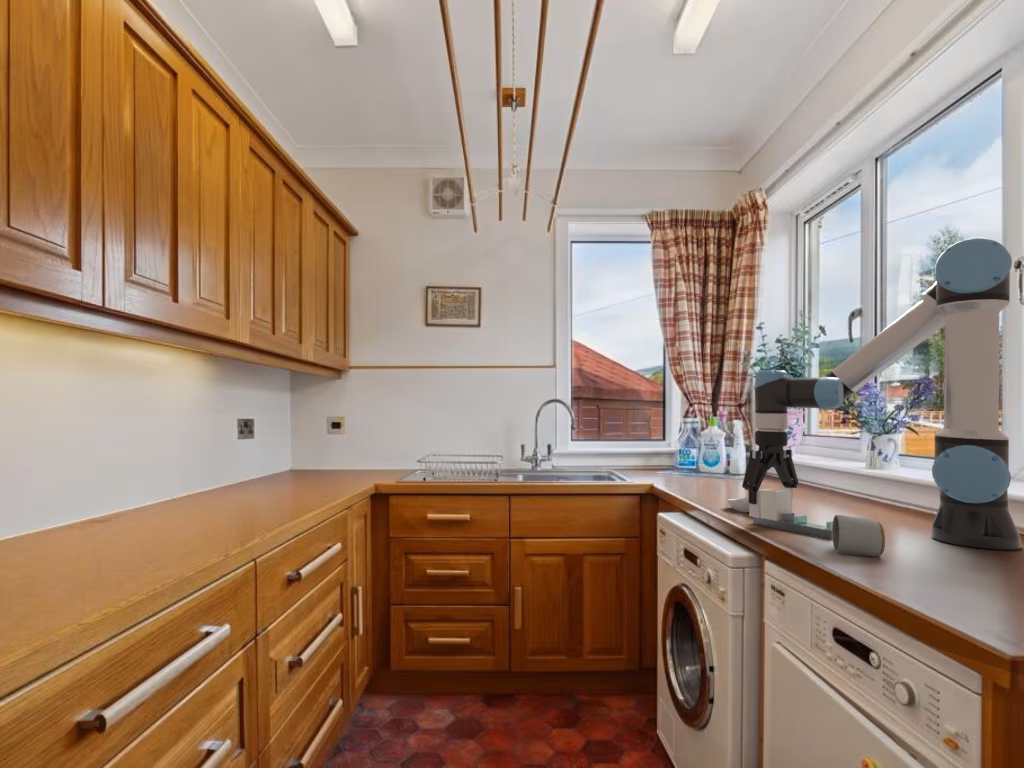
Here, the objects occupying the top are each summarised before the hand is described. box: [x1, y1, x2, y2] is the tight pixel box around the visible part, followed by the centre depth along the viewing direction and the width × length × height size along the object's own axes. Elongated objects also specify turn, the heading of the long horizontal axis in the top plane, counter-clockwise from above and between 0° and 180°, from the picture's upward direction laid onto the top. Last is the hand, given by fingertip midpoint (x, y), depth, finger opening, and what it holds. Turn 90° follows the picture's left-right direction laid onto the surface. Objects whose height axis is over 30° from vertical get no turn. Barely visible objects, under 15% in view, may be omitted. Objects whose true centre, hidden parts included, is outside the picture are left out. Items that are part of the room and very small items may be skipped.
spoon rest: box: [727, 496, 749, 513], centre depth 151 cm, size 24×12×7 cm, turn 5°
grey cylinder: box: [832, 514, 886, 557], centre depth 109 cm, size 11×8×8 cm
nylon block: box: [758, 488, 789, 521], centre depth 135 cm, size 5×5×7 cm
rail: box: [752, 512, 833, 540], centre depth 130 cm, size 20×4×4 cm, turn 29°
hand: (771, 514), depth 136 cm, fingers open, 12 cm apart
